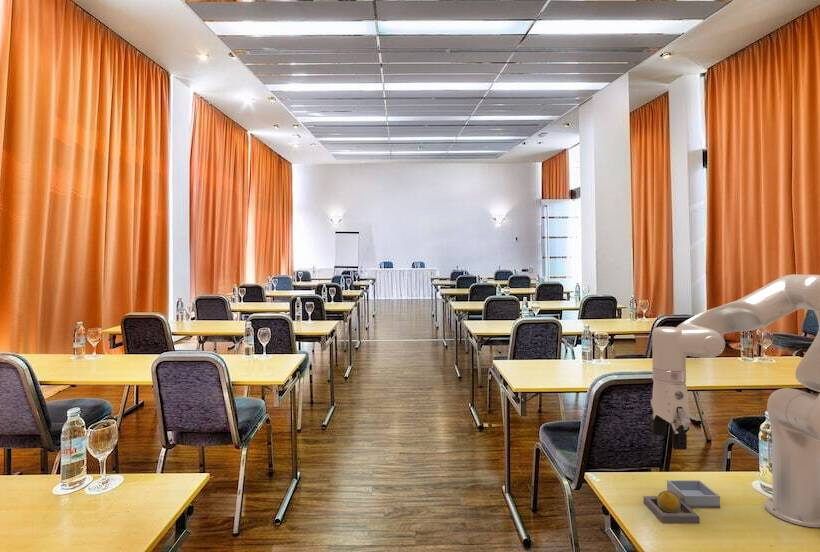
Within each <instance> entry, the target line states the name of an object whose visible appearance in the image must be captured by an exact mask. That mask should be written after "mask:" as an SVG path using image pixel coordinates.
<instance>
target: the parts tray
mask: <svg viewBox="0 0 820 552" xmlns="http://www.w3.org/2000/svg"><path fill="white" fill-rule="evenodd" d="M666 491H671V492H673V493H675V494H676V495H677V496H678V497H679V498H680V499H681V500H682V501H683V502H685V503H686V504H687V505H688V506H689V507H690V508H691V509H694V508H695V509H702V508H703V509H721V496H720V495H719V494H718V493H716V492H715V491H714V490H713V489H712V488H710V487H709V486H708V485H706V484H705V483H704V482H703V481H701V480H700V479H698V480H697V479H696V480H695V479H694V480H693V479H692V480H691V479H690V480H689V479H688V480H687V479H686V480H685V479H681V480H680V479H668V480H666Z"/></svg>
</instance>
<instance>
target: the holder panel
mask: <svg viewBox="0 0 820 552" xmlns="http://www.w3.org/2000/svg"><path fill="white" fill-rule="evenodd" d="M657 497H658V495H643V504H644V505H645V506H646V507H647V508H648V509H649V510H650V512H652V514H653V515H654V516H655V517H656V519H658V521H660V522H661V524H689V525H690V524H695V525H697V524H699V525H701V521H700V518H701V517H700V515H699V514H698V513H697V512H696V511H694V510H693V508H690V507H689V506H688V505H687V504H686V503H685V502H683V501H682V500H681V499H680V498H679V499H680V502H681V508H680V510H681V511H682V512H677V513H666V512H664V511H663V510H662V509H661V508H660V507H659V505H658V503H657Z"/></svg>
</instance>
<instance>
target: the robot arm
mask: <svg viewBox="0 0 820 552" xmlns="http://www.w3.org/2000/svg"><path fill="white" fill-rule="evenodd" d="M801 309H802V310H810V311H813V312H814V313H815V316H816V319H817V322H818V331H817V333H816V336H815V337H814V340H813V341H812V343H811V345H810V346H809V347H808V349H807V351H806V352H805V354H804V355H803V357H802V359H801V360H800V361H799V364H798V365H797V367H796V369H795V373H794V375H795V379H796V380H797V382H798V383H799V384H800V385H802V386H804V387H806V389H807V388H808V389H810V390H813V391H814V392H815V391H816V392H818V393H819V394H818V395H815V394H813V393H809V392H806V391H803V390H799V389H796V388H791V387H786V388H785V387H784V388H780V389H776V390H775V391H773V392H772V393H771V394H770V395H769V397H768V399H767V404H766V406H767V407H766V410H767V414H768V415H767V417H768V419H769V424H770V429H771V430H770V431H771V466H772V467H771V469H772V470H771V477H772V479H771V482H772V485H771V486H772V492H771V493H772V497H770V498H767V499H766V500H765V502H764V507H765V510H767V511H768V512H769V513H770V514H772V515H773V516H774V517H776V518H778V519H780V520H782V521H786V522H788V523H791V524H794V525H797V526H798V525H799V526H802V527H808V528H820V274H796V273H795V274H794V273H793V274H788V275H783V276H781V277H779V278H776V279H775V280H773V281H771V282H769V283H768V284H766V285H764V286H762V287H760V288H758V289H756V290H754V291H752V292H751V293H749V294H747V295H745V296H743V297H742V298H739V299H736V300H734V301H731V302H728V303H725V304H722V305H719V306H716V307H713V308H710V309H708V310H705V311H702V312H700V313H697V314H695V315H694V316H692V317H690V318H688V319H686V320H684V321H683V322H681V323H680V324H678V325H677V326H675V327H674V326H658V327H655V328H654V329H653V330H652V334H651V335H652V336H651V337H652V343H651V344H652V376H651V377H652V381H653V384H652V397H651V399H650V406H651V413H652V415H651V418H652V419H653V420H652V435H654V436H666V435H667V422H668V424H671V427H672V430H673V432H672V436H671V437H672V440H671V443H672V444H671V446H672V447H671V448H672V449H674V450H687V447H688V445H687V444H688V442H687V441H688V439H687V438H688V437H687V436H688V434H689V430H690V426H691V422H692V421H691V417H690V412H691V411H690V400H689V392H688V387H687V357H688V356H689V357H696V358H700V359H701V358H702V359H703V358H704V359H710V358H716V357H718V356H720V354H722V353H723V351H725V347H726V341H725V338H724V336H723V335H724V334H729V333H737V332H738V333H739V332H749V331H756V330H761V329H764V328H765V327H768V326H769V325H772V324H773V323H775V322H776V321H778V320H780V319H782V318H784V317H786V316H788V315H791V313H794V312H796V311H797V310H801ZM678 425H679V426H678Z"/></svg>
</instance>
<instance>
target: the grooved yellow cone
mask: <svg viewBox="0 0 820 552" xmlns="http://www.w3.org/2000/svg"><path fill="white" fill-rule="evenodd" d="M657 496H658V497H657V503H658V505H659V506H658V508H659V509H660V510H661V511H662V512H663V513H679V512H680V510H681V509H680V508H681V502H680V499H679V497H678V496H677V495H676V494H675V493H673V492H671V491H667V490H663V491H661V492H659V493H658V495H657Z"/></svg>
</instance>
